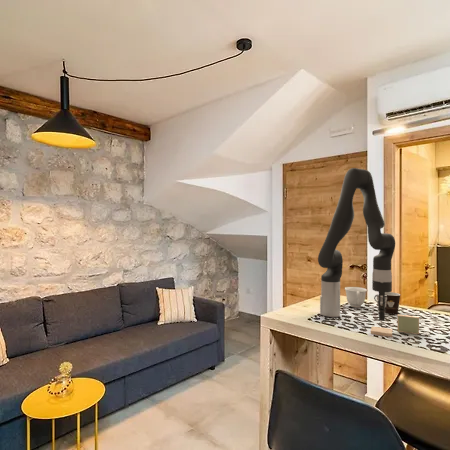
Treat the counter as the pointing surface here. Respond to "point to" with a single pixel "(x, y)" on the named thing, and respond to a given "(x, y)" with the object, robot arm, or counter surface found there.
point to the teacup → (355, 296)
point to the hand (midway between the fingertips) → (381, 320)
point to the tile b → (408, 324)
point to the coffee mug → (391, 302)
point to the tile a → (381, 331)
